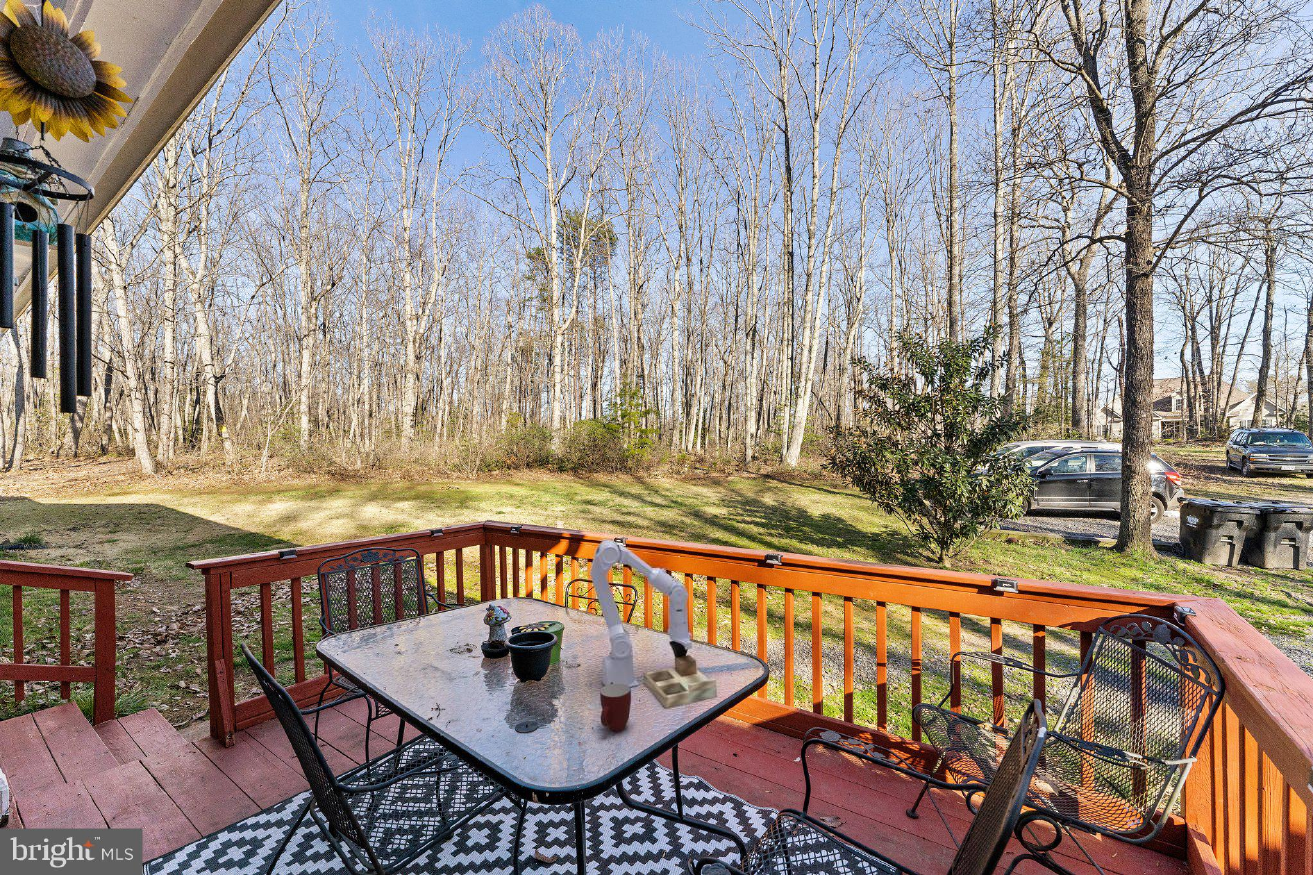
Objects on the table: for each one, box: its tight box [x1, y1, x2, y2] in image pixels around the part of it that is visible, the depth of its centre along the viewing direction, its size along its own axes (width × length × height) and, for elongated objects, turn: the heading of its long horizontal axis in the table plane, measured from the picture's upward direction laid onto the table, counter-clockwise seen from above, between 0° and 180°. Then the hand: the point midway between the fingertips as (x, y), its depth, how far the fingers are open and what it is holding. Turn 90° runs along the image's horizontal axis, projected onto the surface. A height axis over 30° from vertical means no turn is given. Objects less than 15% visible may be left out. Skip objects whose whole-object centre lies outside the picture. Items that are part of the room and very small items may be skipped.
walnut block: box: [674, 654, 698, 677], centre depth 174 cm, size 5×5×4 cm
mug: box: [599, 683, 632, 732], centre depth 148 cm, size 10×8×10 cm
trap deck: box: [643, 666, 718, 710], centre depth 169 cm, size 16×18×5 cm
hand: (680, 664), depth 178 cm, fingers closed
